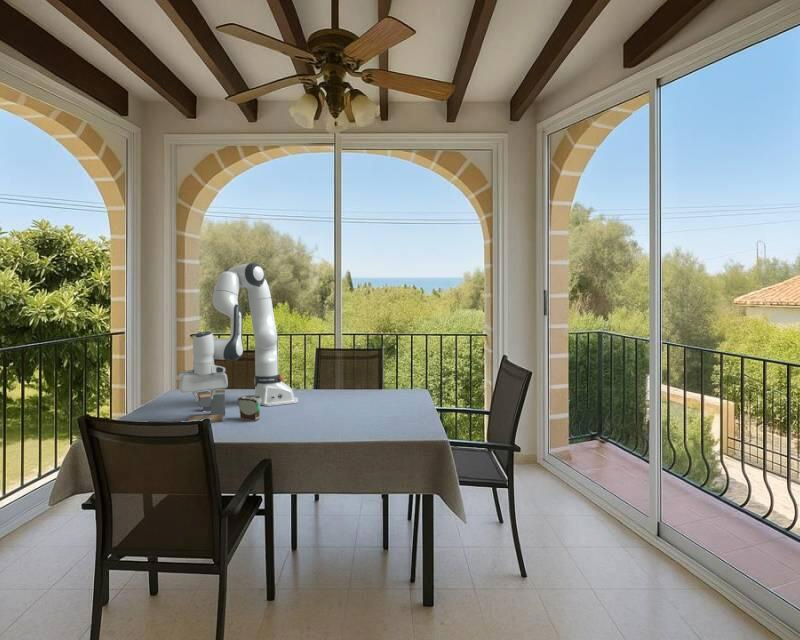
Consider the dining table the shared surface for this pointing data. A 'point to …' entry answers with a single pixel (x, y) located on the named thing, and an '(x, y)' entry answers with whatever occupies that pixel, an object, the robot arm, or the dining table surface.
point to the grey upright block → (218, 403)
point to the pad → (213, 417)
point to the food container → (249, 407)
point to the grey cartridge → (207, 408)
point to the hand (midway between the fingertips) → (204, 400)
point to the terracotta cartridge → (204, 399)
